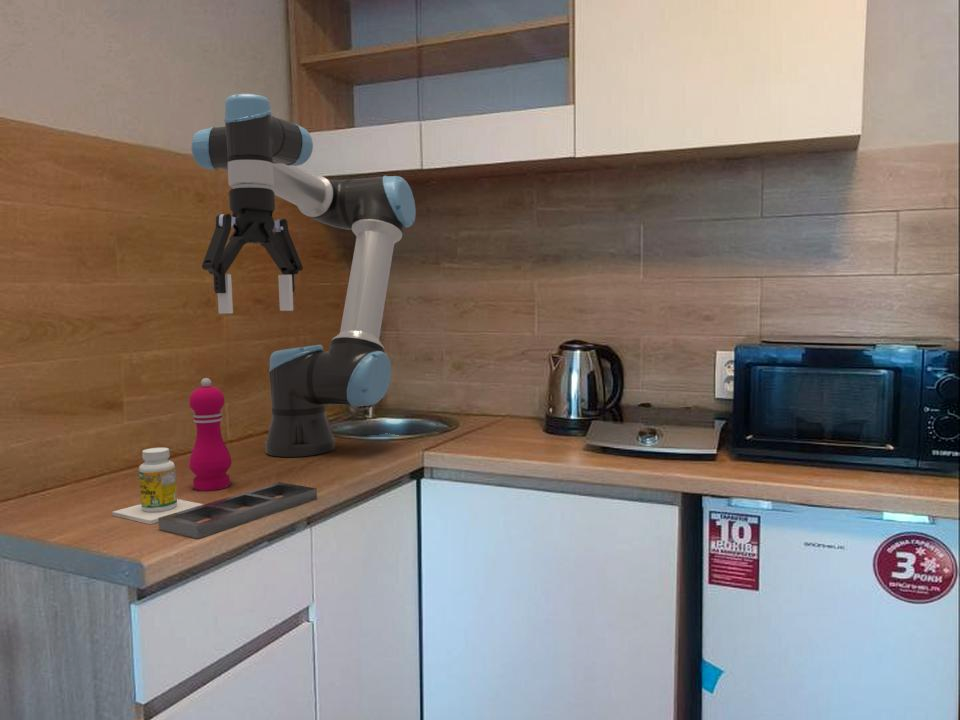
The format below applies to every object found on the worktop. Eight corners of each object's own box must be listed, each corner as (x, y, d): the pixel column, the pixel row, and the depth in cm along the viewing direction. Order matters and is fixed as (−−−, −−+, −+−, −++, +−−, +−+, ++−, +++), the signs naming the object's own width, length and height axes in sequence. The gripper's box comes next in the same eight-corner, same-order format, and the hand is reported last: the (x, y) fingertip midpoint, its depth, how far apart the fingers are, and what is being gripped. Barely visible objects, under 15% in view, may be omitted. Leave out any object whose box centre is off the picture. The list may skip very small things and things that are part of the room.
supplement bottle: (184, 505, 125) (181, 448, 124) (156, 514, 120) (152, 454, 120) (162, 501, 128) (159, 445, 127) (134, 510, 123) (130, 451, 122)
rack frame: (279, 492, 135) (279, 482, 135) (317, 498, 130) (316, 488, 130) (158, 529, 115) (158, 517, 114) (197, 538, 110) (197, 526, 110)
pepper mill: (218, 479, 145) (212, 375, 143) (240, 485, 140) (234, 377, 139) (183, 487, 139) (176, 378, 138) (204, 493, 135) (198, 381, 133)
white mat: (167, 500, 131) (167, 496, 131) (205, 508, 126) (205, 504, 126) (112, 515, 123) (112, 511, 123) (150, 524, 117) (150, 520, 117)
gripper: (289, 197, 144) (294, 309, 146) (174, 183, 123) (182, 314, 125) (319, 193, 140) (323, 309, 142) (205, 178, 119) (212, 314, 121)
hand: (257, 312), depth 134 cm, fingers open, 13 cm apart
